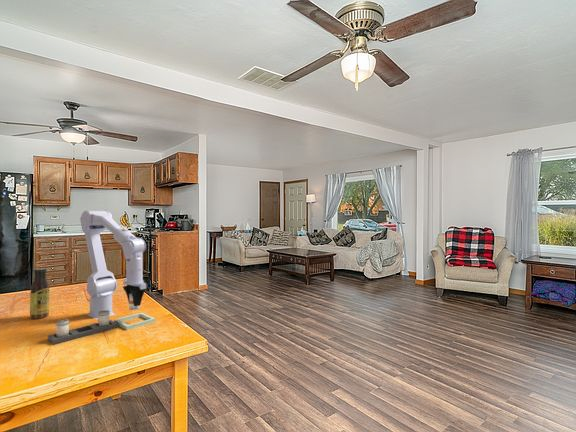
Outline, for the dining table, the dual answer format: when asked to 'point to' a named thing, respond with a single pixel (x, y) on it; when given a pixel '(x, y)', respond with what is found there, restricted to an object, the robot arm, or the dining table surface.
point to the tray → (131, 326)
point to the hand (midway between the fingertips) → (134, 304)
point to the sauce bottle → (39, 295)
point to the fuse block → (82, 332)
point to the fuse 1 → (62, 328)
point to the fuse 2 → (103, 318)
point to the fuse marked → (131, 304)
